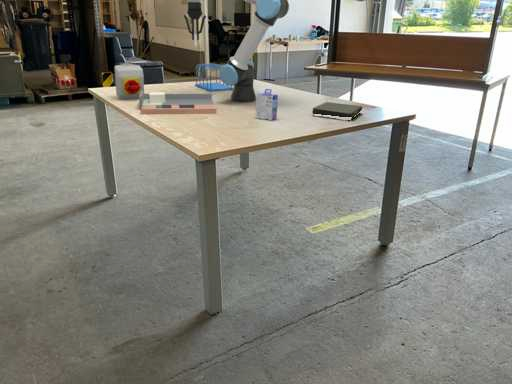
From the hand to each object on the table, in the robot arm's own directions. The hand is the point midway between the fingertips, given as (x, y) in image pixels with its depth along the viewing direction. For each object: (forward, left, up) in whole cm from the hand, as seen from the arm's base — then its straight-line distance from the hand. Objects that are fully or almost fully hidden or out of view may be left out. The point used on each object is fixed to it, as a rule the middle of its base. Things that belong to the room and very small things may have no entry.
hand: (195, 46), depth 251 cm
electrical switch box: (+39, 0, -31) cm, 49 cm away
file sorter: (-14, -39, -31) cm, 52 cm away
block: (+22, +22, -28) cm, 42 cm away
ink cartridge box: (-32, +55, -31) cm, 71 cm away
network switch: (-72, +49, -31) cm, 92 cm away
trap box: (+11, +28, -30) cm, 43 cm away
